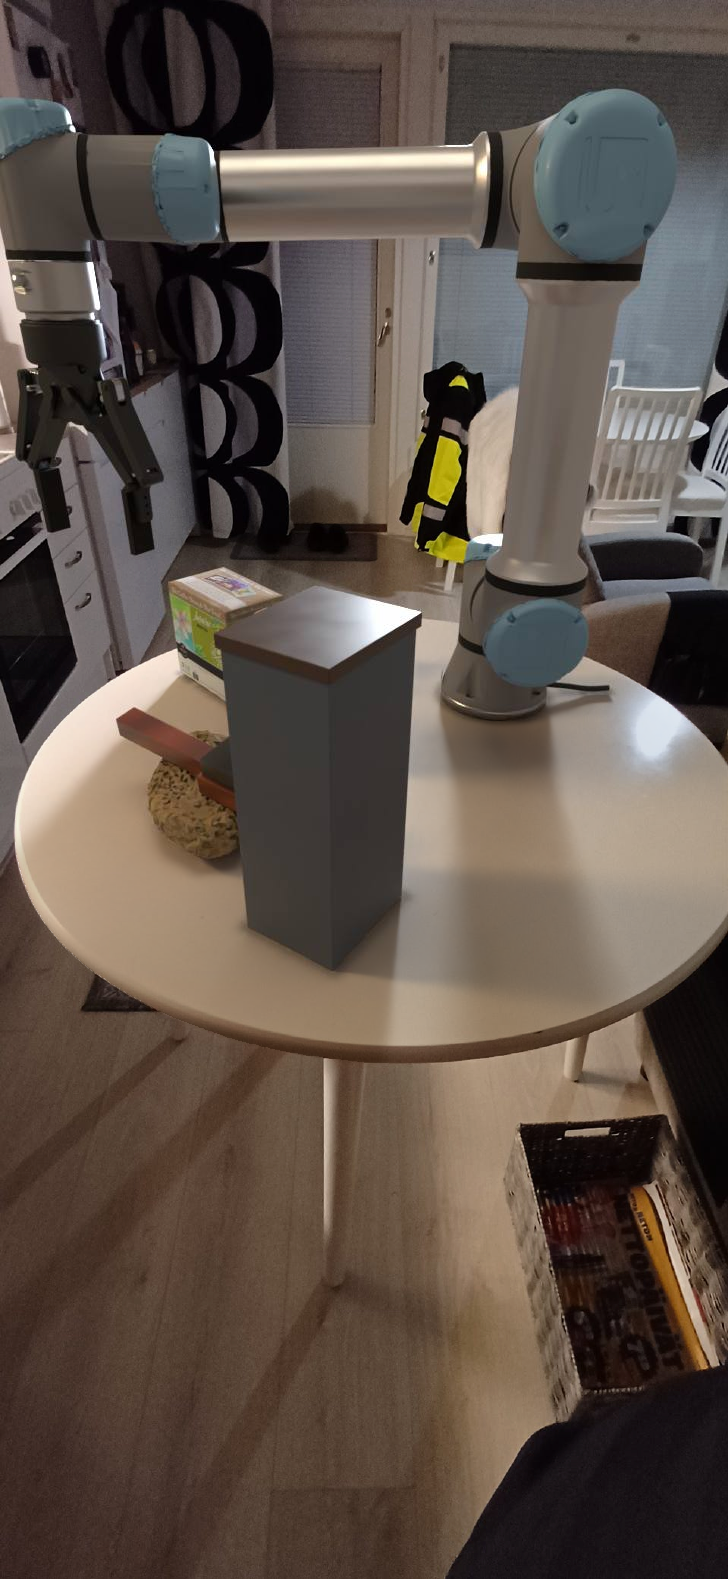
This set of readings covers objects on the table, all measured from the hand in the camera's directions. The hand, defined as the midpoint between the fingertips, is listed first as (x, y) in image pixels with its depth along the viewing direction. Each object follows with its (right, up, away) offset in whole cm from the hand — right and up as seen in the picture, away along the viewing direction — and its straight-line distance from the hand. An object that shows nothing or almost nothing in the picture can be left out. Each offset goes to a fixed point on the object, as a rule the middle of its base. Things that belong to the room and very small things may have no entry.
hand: (99, 540), depth 86 cm
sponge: (+11, -31, +3) cm, 33 cm away
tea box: (+10, -11, +31) cm, 35 cm away
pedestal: (+26, -39, -10) cm, 48 cm away
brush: (+11, -25, -1) cm, 27 cm away
